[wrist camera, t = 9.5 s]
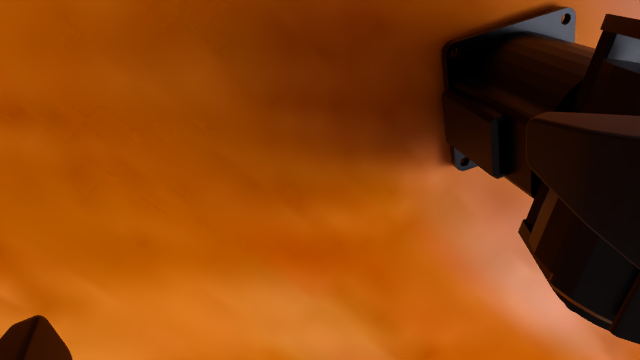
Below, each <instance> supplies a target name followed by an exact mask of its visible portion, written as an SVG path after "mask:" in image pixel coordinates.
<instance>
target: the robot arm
mask: <svg viewBox="0 0 640 360" xmlns="http://www.w3.org/2000/svg"><path fill="white" fill-rule="evenodd" d="M564 14H565V18H564V20H563V22H561V19H562V17H563V15H564ZM575 19H576V15H575V11H574V10H573V9H572V8H569V7H558V8H555V9H551V10H548V11H545V12H542V13H538V14H535V15H532V16H529V17H526V18H522V19H519V20H516V21H513V22H509V23H506V24H503V25H500V26H496V27H493V28H490V29H487V30H484V31H480V32H477V33H474V34H471V35H467V36H464V37H461V38H458V39H454V40H451V41H449V42H447V43H446V44H445V45H444V47H443V49H442V64H443V75H444V85H445V90H444V92H443V94H442V103H443V113H444V123H445V134H446V141H447V143H449V144H450V150H451V161H452V164H453V166H455V167H456V168H457V169H458V170H460V171H465V170H468V169H471V168H474V167H477V166H479V167H480V168H482V169H483V170H484V171H486V172H487V173H488V174H490V175H491V176H493V177H494V178H497V179H499V178H502V177H505V178H506V179H508V180H509V181H510V182H512V183H513V184H514V185H516V186H517V187H518V188H520V189H521V190H523V191H524V192H525V193H527V194H528V195H529V196H531V197H532V198H534V201H533V204H532V206H531V208H530V211H529V213H528V216H527V218H526V219H524V220H523V221H522V223H521V226H520V228H519V231H518V233H519V234H520V236H521V238H522V239H523V241H524V243H525V244H526V246H527V248H528V249H529V251H530V253H531V254H532V256H533V258H534V259H535V261H536V263H537V264H538V266H539V268H540V269H541V271H542V272H543V274H544V276H545V277H546V279H547V281H548V282H549V284H550V286H551V287H552V289H553V291H554V292H555V293H556V295H557V296H558V297H559V299H560V300H561V301H563V302H564V303H565V305H566V306H567V308H568V309H570V310H571V311H573V312H575V313H577V314H579V315H580V316H581V317H583V318H585V319H586V320H588V321H590V322H592V323H593V324H595V325H597V326H599V327H601V328H604V329H606V330H608V331H610V332H611V333H612V334H613V335H615V336H616V337H619V338H622V339H625V340H628V341H631V342H634V343H637V344H640V20H638V19H632V18H627V17H622V16H616V15H611V14H606V16H605V18H604V21H603V23H602V26H601V28H600V29H601V30H603V32H602V34H601V37H600V39H599V42H598V44H597V47H596V49H594V48H591V47H587V46H584V45H580V44H577V43H574V41H575ZM455 48H457V53H456V55H455V56H454V57H451V52H452V51H453V49H455ZM464 157H465V160H464V161H463V162H462V163H460V161H461V159H462V158H464ZM0 360H72V356H71V353H70V351H69V349H68V348H67V346H66V345H65V343H64V342H63V341H62V339H61V338H60V336H59V335H58V334H57V332H56V331H55V330H54V328H53V327H52V325H51V324H50V323H49V321H48V320H47V319H46V318H45V317H43V316H40V315H36V316H33V317H31V318H28V319H26V320H23V321H21V322H18V323H16V324H14V325H12V326H11V327H10V328H9V329H8V330H7V332H6V333H5V334H4V335H3V336H2V337H1V339H0Z"/></svg>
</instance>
